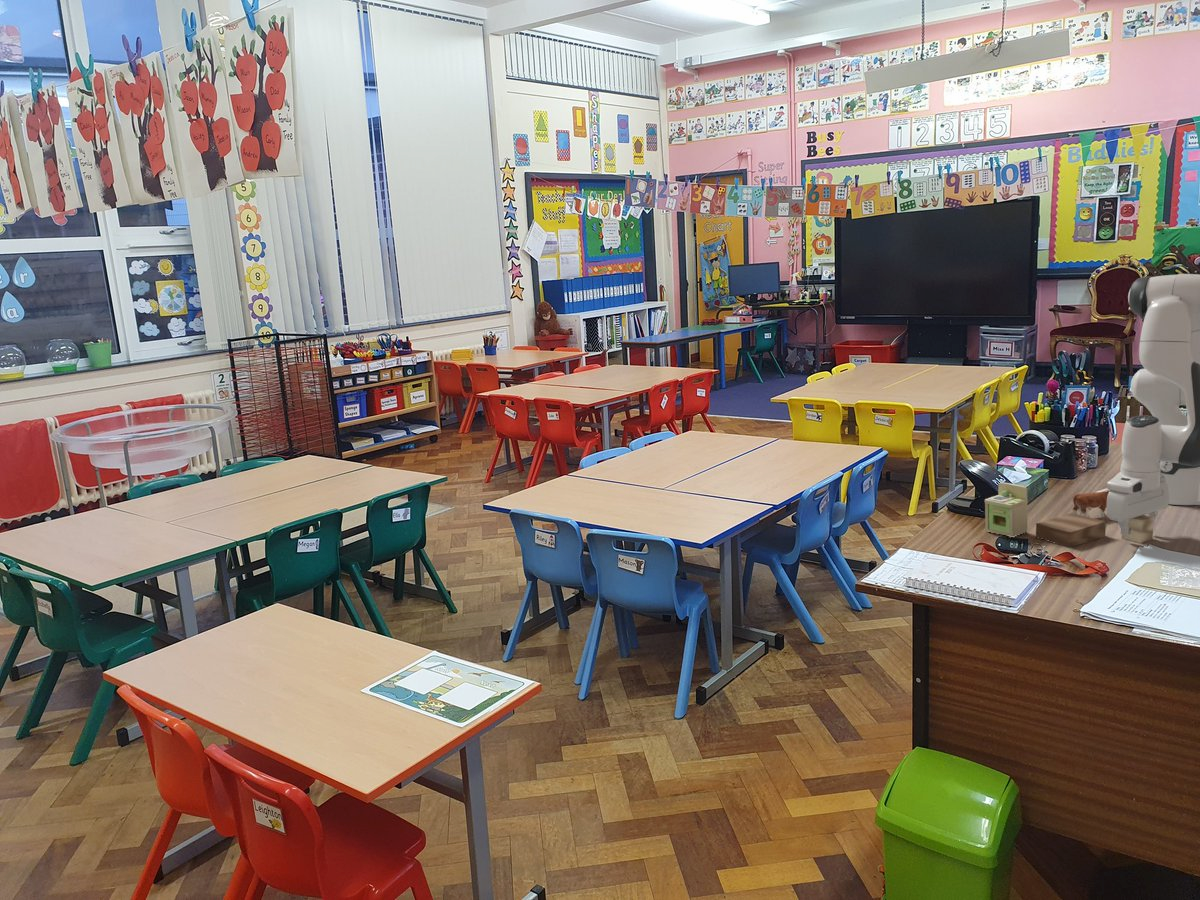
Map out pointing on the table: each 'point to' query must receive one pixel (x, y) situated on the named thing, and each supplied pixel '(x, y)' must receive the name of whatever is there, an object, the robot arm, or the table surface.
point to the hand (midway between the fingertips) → (1137, 530)
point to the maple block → (1140, 529)
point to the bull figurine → (1091, 502)
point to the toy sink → (1007, 510)
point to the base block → (1071, 529)
